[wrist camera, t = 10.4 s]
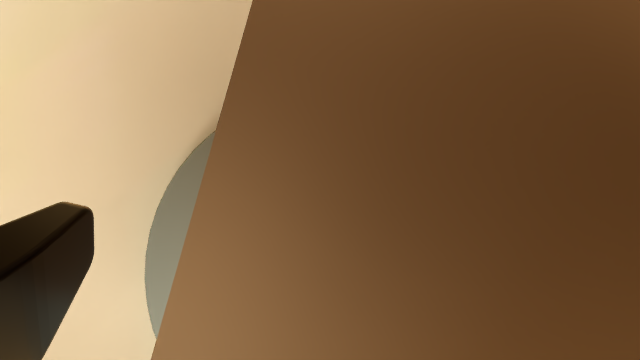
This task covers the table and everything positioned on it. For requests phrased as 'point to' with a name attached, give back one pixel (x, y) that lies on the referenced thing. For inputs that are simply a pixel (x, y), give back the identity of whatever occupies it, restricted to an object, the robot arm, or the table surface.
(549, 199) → the walnut block
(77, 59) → the table surface
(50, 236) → the robot arm
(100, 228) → the table surface
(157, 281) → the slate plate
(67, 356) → the table surface
